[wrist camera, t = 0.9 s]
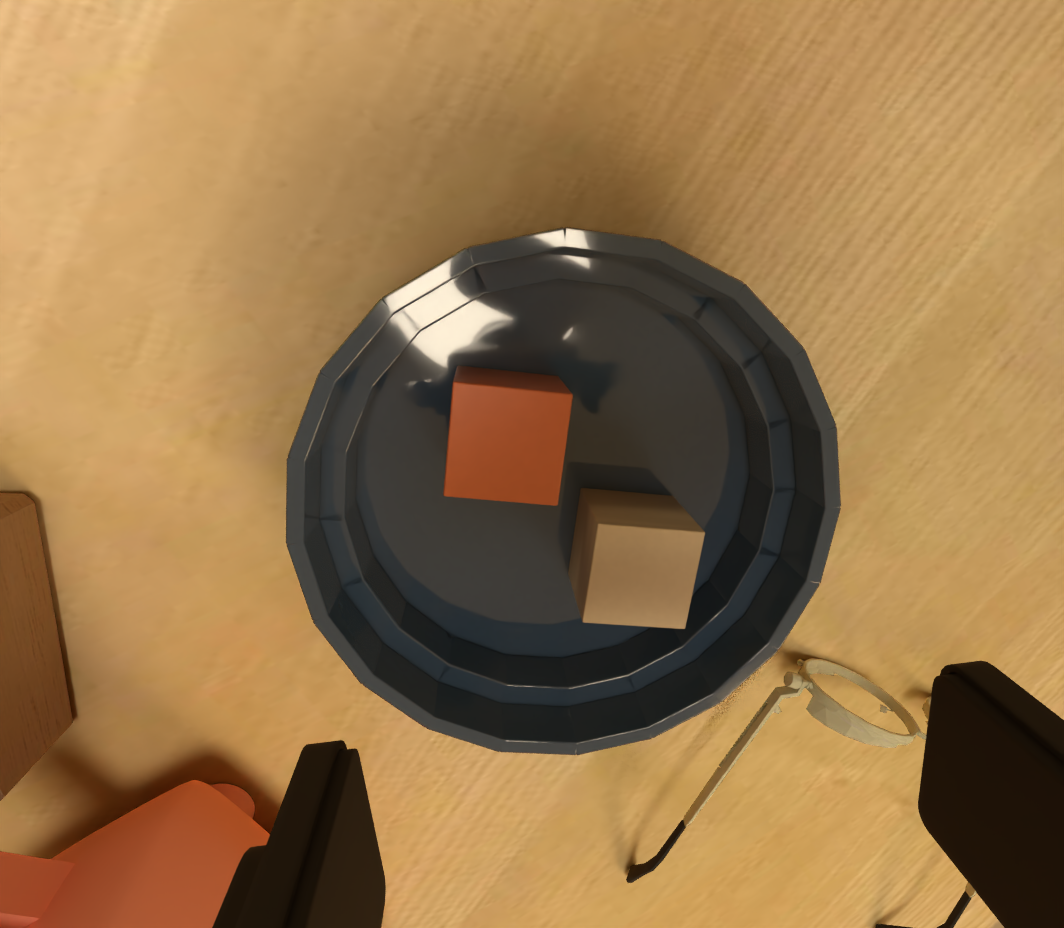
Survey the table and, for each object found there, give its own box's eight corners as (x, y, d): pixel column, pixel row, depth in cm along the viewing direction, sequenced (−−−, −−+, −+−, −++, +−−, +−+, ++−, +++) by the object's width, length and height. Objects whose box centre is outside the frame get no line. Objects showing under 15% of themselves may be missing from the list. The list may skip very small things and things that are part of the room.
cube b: (580, 487, 26) (597, 523, 22) (673, 495, 26) (705, 532, 23) (567, 574, 27) (581, 623, 23) (657, 580, 28) (685, 629, 24)
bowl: (329, 208, 23) (289, 189, 18) (823, 273, 25) (905, 272, 20) (316, 664, 28) (283, 743, 23) (726, 686, 30) (772, 763, 25)
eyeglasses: (1027, 722, 32) (1122, 799, 27) (883, 935, 36) (945, 1036, 31) (739, 631, 29) (789, 700, 25) (614, 873, 33) (636, 974, 28)
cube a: (456, 365, 24) (452, 381, 20) (558, 376, 25) (573, 394, 21) (448, 463, 25) (443, 496, 21) (546, 472, 26) (558, 506, 22)
